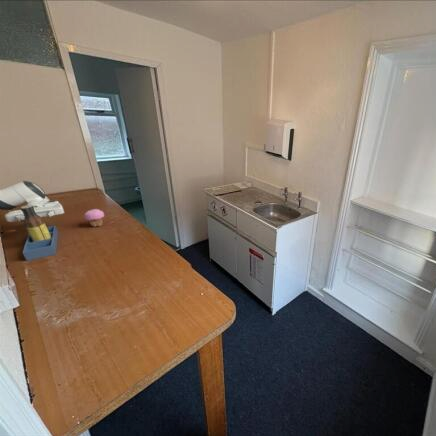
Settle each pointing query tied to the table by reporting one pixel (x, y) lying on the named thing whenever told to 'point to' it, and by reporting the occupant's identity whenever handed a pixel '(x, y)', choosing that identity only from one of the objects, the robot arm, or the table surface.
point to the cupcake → (94, 217)
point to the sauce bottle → (35, 224)
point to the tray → (41, 246)
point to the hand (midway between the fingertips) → (34, 217)
